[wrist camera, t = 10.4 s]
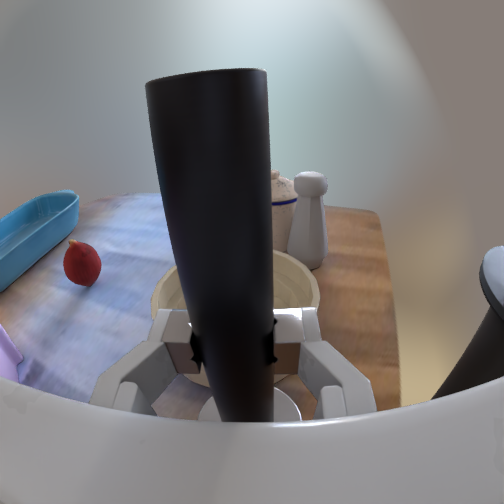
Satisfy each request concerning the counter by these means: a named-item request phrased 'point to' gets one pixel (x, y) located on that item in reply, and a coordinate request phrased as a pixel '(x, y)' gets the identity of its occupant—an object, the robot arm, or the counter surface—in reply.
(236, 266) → the black tall cylinder post
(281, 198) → the teacup with lid
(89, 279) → the onion
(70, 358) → the counter surface
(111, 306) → the counter surface
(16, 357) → the clip
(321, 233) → the salt shaker
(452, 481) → the robot arm
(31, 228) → the casserole dish
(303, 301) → the bowl
